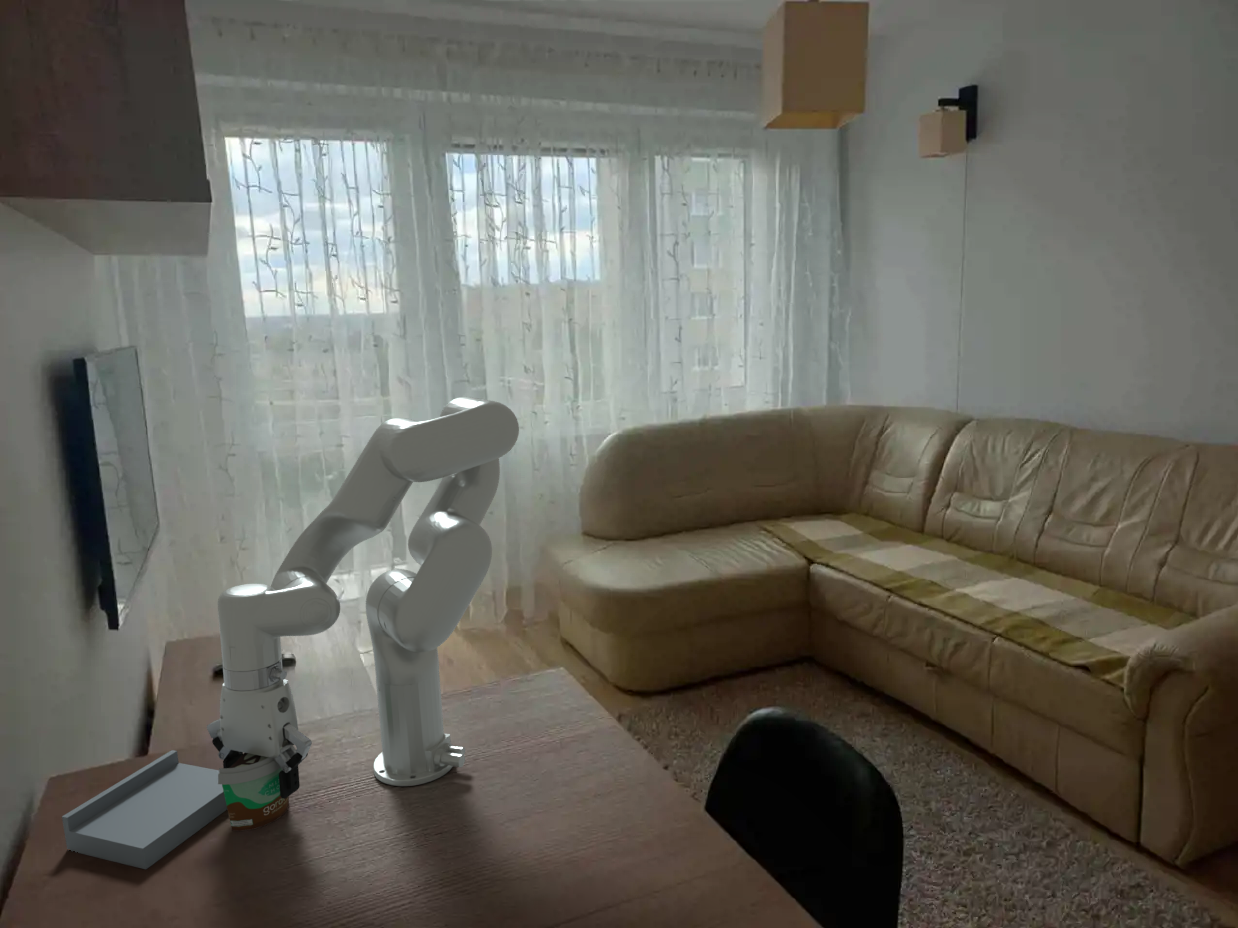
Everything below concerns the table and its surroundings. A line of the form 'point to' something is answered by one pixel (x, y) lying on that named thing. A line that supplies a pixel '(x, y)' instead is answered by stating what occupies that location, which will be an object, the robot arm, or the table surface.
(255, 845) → the table surface
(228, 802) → the food container
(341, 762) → the table surface
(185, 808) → the stand
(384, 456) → the robot arm
